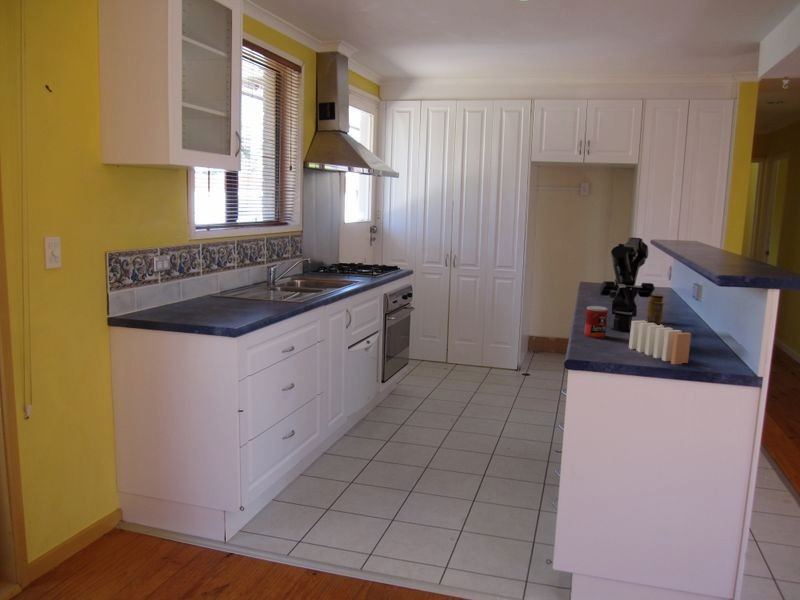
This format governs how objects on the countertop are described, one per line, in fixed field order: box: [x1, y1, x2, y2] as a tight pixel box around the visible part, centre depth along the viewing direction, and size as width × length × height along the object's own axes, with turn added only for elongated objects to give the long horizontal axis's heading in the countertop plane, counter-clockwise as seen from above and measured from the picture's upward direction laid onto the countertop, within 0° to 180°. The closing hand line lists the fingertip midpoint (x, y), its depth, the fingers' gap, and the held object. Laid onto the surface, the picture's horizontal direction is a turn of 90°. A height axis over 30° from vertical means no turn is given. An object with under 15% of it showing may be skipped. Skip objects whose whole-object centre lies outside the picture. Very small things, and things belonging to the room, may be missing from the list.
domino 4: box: [652, 327, 674, 359], centre depth 221 cm, size 2×6×10 cm, turn 112°
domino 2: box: [636, 323, 657, 353], centre depth 229 cm, size 2×6×10 cm, turn 111°
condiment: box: [646, 294, 664, 326], centre depth 285 cm, size 7×8×12 cm
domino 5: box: [661, 329, 683, 362], centre depth 218 cm, size 2×6×10 cm, turn 111°
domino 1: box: [628, 319, 647, 350], centre depth 232 cm, size 2×6×10 cm, turn 111°
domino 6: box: [670, 332, 692, 365], centre depth 214 cm, size 2×6×10 cm, turn 111°
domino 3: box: [644, 324, 665, 356], centre depth 225 cm, size 2×6×10 cm, turn 112°
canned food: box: [584, 305, 609, 339], centre depth 251 cm, size 8×8×11 cm
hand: (631, 307), depth 239 cm, fingers closed
